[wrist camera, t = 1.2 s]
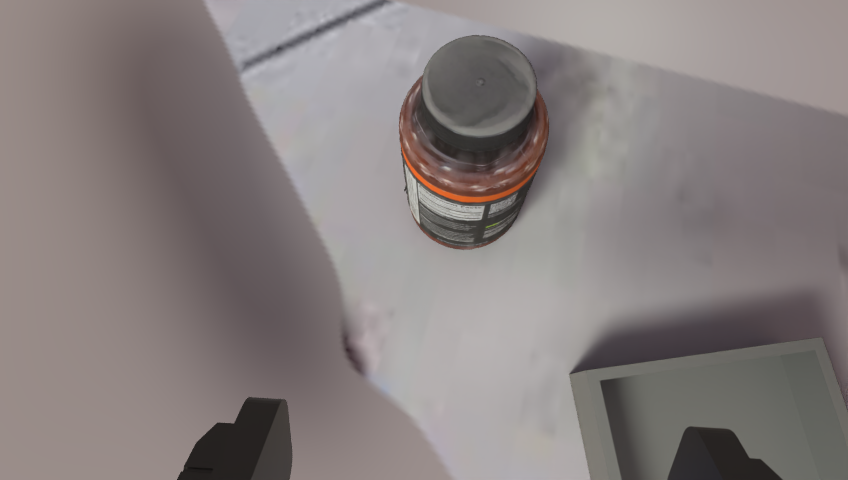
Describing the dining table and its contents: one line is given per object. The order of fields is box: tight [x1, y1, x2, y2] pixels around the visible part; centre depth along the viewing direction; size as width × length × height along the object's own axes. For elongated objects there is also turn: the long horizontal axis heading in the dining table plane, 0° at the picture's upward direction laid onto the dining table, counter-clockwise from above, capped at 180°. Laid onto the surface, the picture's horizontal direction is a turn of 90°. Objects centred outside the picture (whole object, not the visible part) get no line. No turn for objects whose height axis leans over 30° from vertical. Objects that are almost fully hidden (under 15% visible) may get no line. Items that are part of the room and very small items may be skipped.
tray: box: [569, 337, 848, 480], centre depth 24 cm, size 11×11×3 cm
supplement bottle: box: [399, 35, 549, 249], centre depth 24 cm, size 6×6×11 cm
